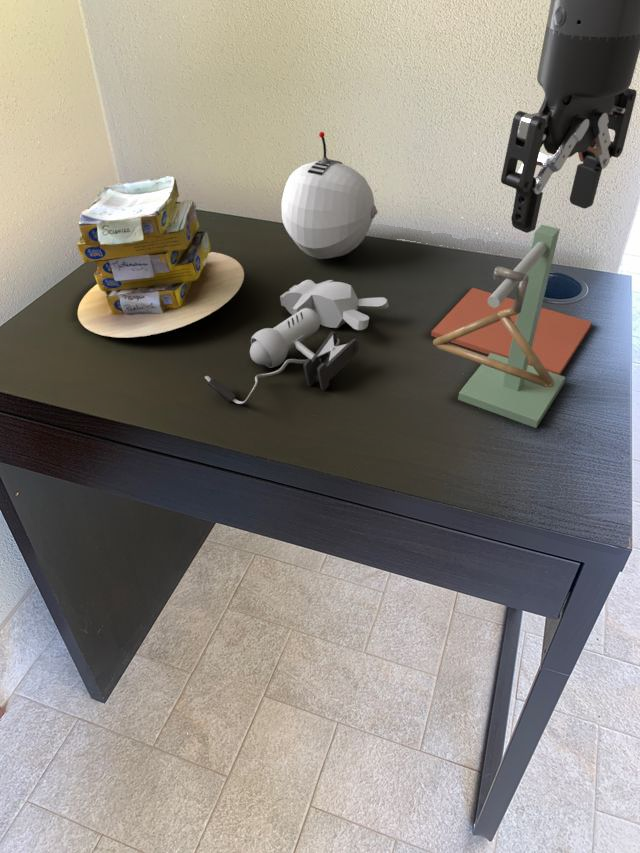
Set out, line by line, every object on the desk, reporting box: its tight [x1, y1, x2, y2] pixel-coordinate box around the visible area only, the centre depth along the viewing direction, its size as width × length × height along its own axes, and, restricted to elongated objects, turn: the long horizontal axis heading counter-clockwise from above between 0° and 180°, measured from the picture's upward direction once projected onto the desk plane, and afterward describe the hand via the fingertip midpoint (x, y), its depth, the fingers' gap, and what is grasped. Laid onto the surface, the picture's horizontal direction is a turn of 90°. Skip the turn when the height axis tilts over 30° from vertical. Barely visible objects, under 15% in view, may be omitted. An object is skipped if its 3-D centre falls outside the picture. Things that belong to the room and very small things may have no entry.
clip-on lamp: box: [204, 308, 359, 405], centre depth 86 cm, size 12×6×18 cm
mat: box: [431, 287, 593, 376], centre depth 95 cm, size 18×14×1 cm
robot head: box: [280, 131, 379, 260], centre depth 107 cm, size 16×14×20 cm
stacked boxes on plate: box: [76, 175, 245, 339], centre depth 97 cm, size 25×25×17 cm
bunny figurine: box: [279, 279, 390, 331], centre depth 97 cm, size 10×5×15 cm
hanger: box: [432, 266, 555, 387], centre depth 69 cm, size 14×1×11 cm, turn 57°
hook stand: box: [457, 224, 566, 429], centre depth 75 cm, size 10×19×22 cm, turn 147°
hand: (552, 216), depth 65 cm, fingers open, 8 cm apart
